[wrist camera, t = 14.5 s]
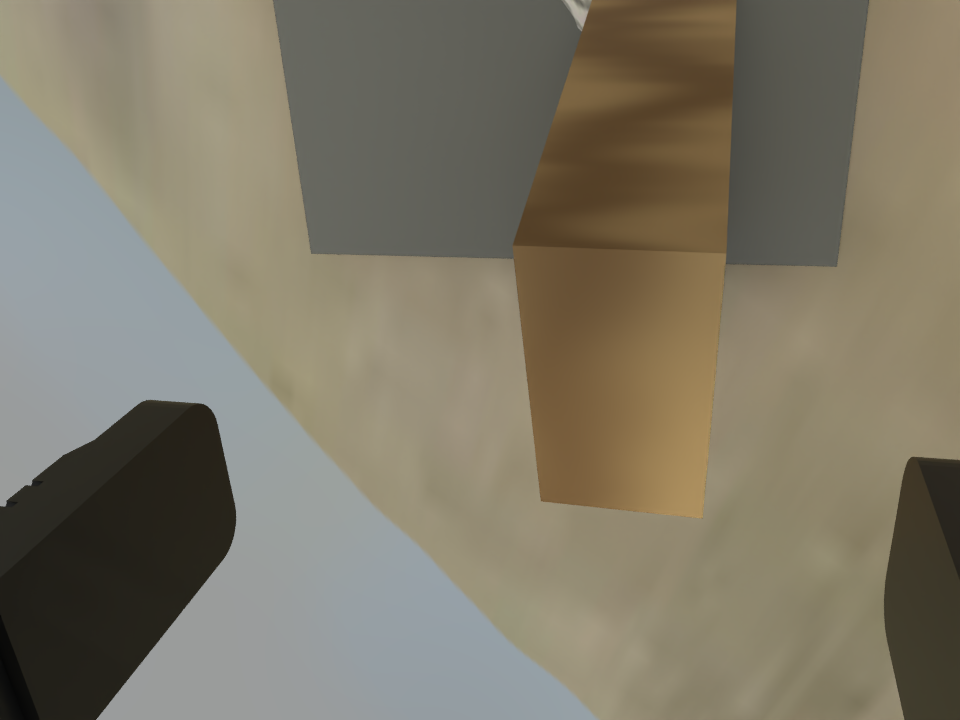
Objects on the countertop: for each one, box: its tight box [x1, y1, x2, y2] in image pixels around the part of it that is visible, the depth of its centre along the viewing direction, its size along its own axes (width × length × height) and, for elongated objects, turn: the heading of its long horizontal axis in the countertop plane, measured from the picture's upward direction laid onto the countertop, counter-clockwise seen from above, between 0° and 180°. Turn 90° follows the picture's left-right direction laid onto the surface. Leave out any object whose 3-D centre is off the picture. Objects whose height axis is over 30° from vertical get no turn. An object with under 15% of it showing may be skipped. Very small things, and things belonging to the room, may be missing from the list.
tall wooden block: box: [512, 0, 737, 518], centre depth 24 cm, size 4×8×12 cm, turn 2°
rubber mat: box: [273, 0, 869, 267], centre depth 30 cm, size 10×19×1 cm, turn 93°
